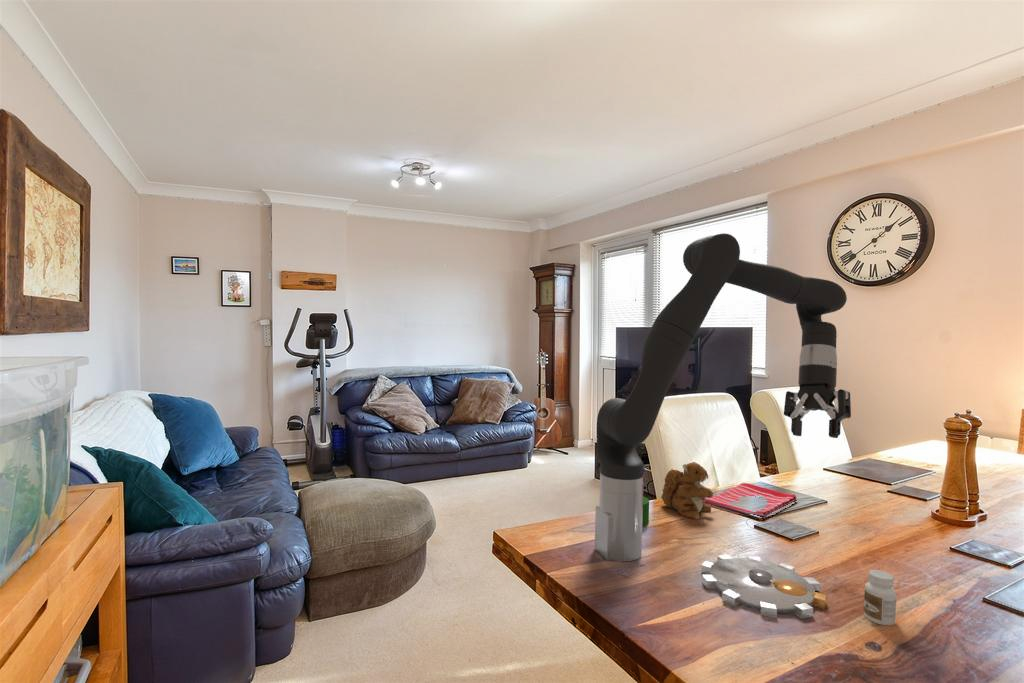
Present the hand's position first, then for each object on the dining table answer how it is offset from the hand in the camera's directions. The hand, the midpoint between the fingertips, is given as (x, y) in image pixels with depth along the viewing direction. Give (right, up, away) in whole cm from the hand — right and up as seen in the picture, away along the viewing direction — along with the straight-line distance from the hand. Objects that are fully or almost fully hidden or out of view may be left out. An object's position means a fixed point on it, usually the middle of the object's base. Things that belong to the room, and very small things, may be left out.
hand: (814, 436), depth 116 cm
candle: (-38, -24, +15) cm, 47 cm away
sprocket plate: (-21, -25, -18) cm, 38 cm away
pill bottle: (-6, -26, -28) cm, 39 cm away
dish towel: (-1, -25, +30) cm, 39 cm away
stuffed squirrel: (-22, -24, +23) cm, 40 cm away
